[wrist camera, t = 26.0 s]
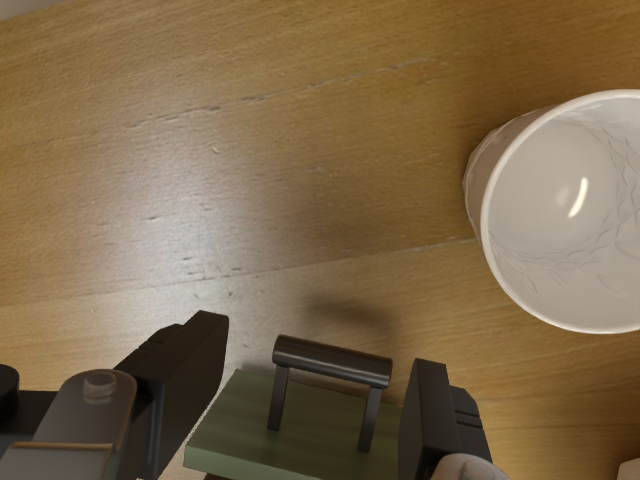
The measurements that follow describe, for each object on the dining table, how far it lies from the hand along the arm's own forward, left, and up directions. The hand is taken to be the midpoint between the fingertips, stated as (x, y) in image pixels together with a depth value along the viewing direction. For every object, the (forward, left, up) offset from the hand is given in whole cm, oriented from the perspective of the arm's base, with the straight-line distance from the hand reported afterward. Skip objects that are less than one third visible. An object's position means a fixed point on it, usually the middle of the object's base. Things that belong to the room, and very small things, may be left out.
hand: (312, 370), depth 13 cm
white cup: (+8, +4, -16) cm, 18 cm away
